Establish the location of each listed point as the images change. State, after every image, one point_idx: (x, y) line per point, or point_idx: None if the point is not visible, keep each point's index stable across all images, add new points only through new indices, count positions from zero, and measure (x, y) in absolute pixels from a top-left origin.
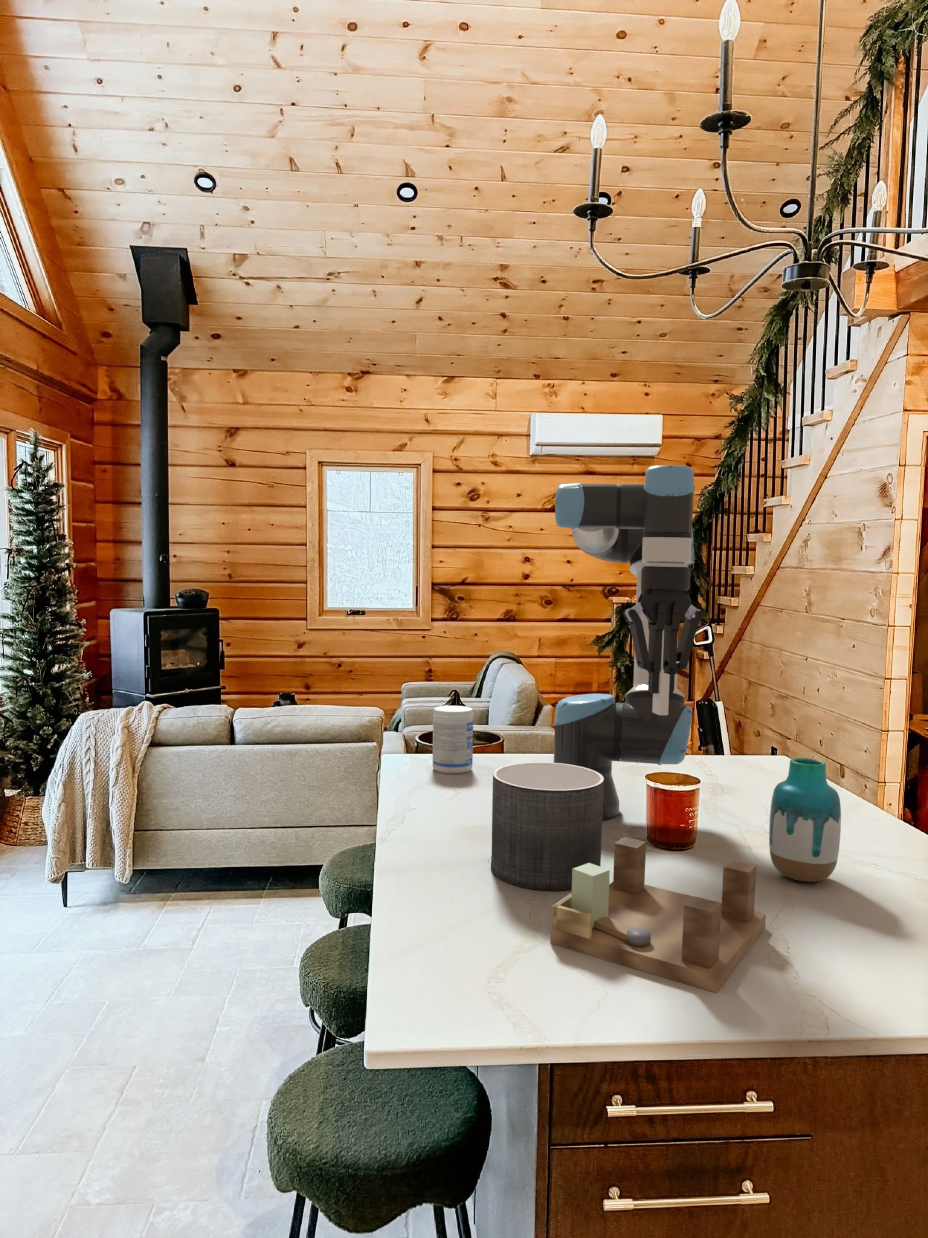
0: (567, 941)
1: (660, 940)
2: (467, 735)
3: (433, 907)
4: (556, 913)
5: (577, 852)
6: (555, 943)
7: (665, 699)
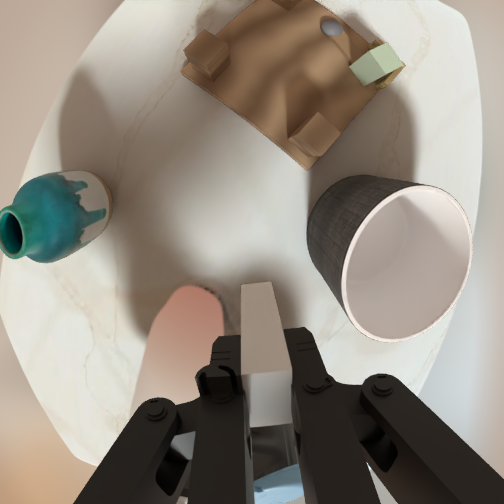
0: None
1: (310, 29)
2: None
3: (458, 160)
4: None
5: (363, 180)
6: None
7: (254, 308)
